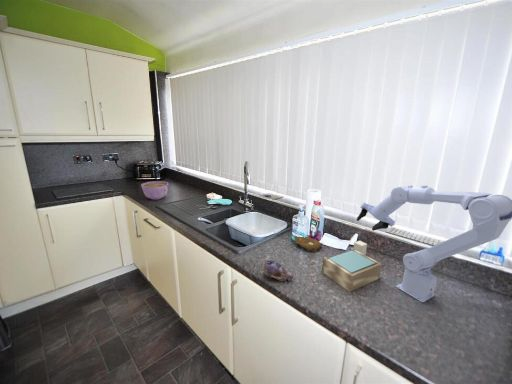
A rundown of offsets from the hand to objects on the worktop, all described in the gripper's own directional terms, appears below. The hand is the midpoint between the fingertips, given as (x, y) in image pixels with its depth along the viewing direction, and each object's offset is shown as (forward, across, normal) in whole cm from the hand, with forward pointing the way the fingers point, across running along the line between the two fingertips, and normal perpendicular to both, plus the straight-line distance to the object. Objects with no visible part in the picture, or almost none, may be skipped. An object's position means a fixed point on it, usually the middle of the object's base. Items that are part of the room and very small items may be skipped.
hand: (365, 224), depth 106 cm
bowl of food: (+93, +121, +3) cm, 152 cm away
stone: (+14, -8, +4) cm, 17 cm away
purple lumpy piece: (+13, +21, +38) cm, 46 cm away
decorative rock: (+25, +14, +10) cm, 30 cm away
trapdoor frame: (+7, -3, +23) cm, 24 cm away
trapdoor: (+3, 0, +20) cm, 20 cm away
